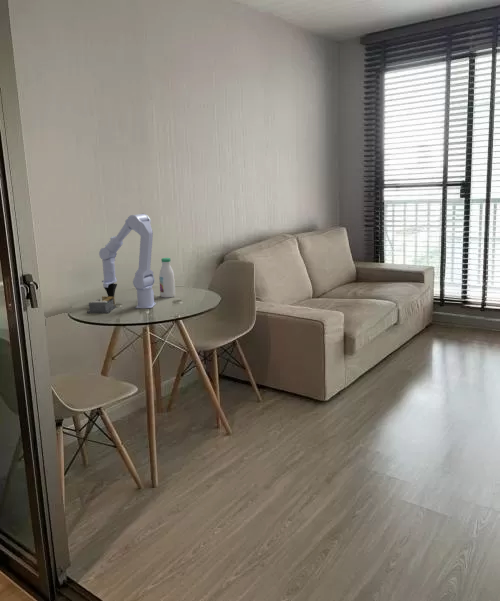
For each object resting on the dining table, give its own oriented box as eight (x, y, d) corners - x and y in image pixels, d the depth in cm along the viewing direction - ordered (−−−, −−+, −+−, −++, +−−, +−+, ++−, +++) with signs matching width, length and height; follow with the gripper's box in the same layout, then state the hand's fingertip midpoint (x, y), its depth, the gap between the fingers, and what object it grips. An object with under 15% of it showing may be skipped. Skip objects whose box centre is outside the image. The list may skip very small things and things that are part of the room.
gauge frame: (95, 307, 262) (95, 297, 260) (116, 307, 261) (115, 297, 260) (87, 313, 250) (86, 302, 249) (108, 313, 250) (107, 302, 248)
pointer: (93, 308, 254) (92, 300, 253) (108, 308, 254) (107, 300, 253) (91, 309, 252) (90, 301, 251) (106, 309, 252) (106, 301, 251)
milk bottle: (176, 294, 285) (175, 257, 281) (173, 298, 278) (171, 259, 273) (162, 294, 286) (160, 257, 281) (158, 297, 279) (156, 259, 274)
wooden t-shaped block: (103, 303, 266) (102, 296, 265) (115, 303, 265) (114, 296, 264) (96, 308, 256) (95, 300, 256) (108, 308, 256) (108, 300, 255)
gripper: (106, 269, 273) (108, 295, 276) (96, 274, 259) (98, 302, 262) (119, 269, 273) (121, 295, 276) (110, 274, 258) (112, 302, 262)
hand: (111, 298), depth 269 cm, fingers closed
